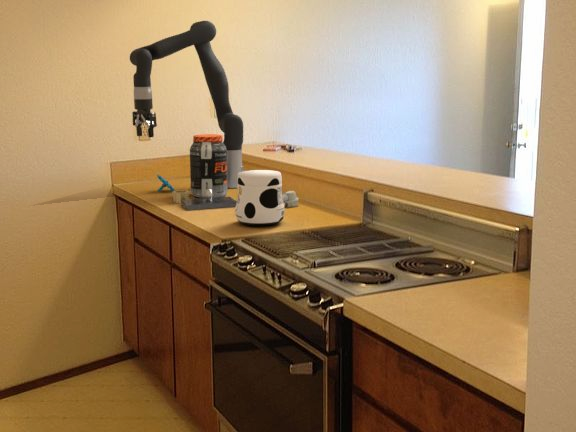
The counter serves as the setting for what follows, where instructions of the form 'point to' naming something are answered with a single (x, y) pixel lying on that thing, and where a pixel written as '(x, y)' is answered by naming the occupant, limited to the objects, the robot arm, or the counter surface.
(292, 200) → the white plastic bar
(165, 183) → the gear
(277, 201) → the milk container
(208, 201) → the post stand
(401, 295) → the counter surface
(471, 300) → the counter surface
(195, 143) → the supplement tub
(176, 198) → the brass hub
